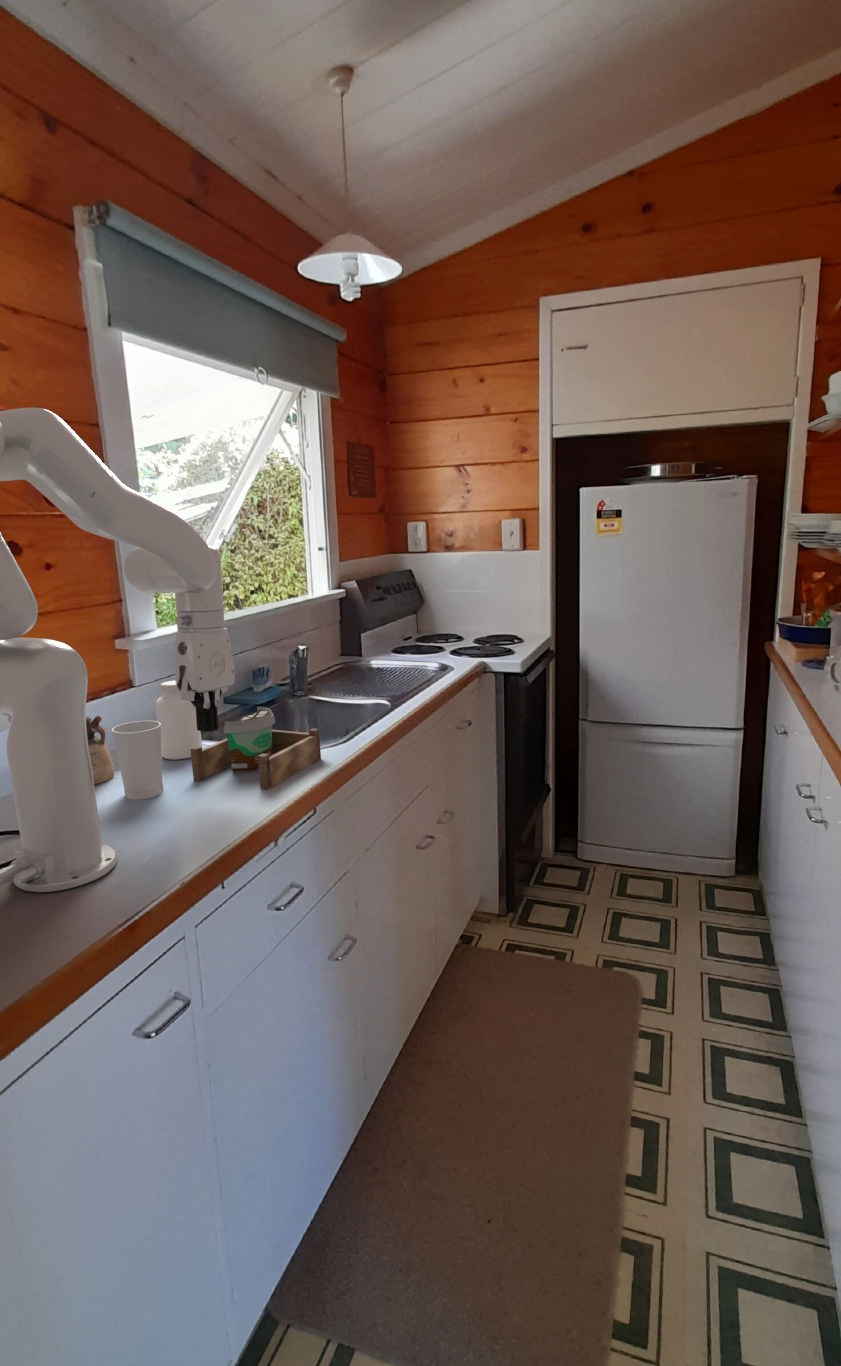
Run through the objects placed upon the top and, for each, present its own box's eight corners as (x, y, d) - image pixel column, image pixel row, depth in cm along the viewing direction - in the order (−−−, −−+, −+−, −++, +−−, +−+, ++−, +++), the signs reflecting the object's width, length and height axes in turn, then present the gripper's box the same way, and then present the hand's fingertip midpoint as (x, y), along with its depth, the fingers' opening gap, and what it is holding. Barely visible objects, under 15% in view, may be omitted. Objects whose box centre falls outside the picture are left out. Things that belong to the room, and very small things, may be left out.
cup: (137, 784, 133) (129, 720, 131) (177, 785, 131) (169, 720, 129) (110, 800, 125) (101, 732, 123) (152, 802, 124) (144, 733, 121)
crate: (267, 789, 128) (264, 756, 126) (193, 780, 134) (190, 748, 133) (320, 758, 144) (318, 728, 143) (252, 751, 150) (250, 722, 149)
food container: (256, 776, 135) (252, 724, 133) (228, 774, 137) (222, 722, 135) (290, 756, 146) (286, 707, 144) (262, 754, 148) (258, 706, 146)
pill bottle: (191, 746, 155) (184, 676, 152) (209, 754, 150) (202, 681, 146) (155, 755, 150) (146, 683, 147) (172, 763, 144) (163, 688, 141)
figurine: (84, 772, 141) (76, 712, 138) (121, 772, 140) (113, 710, 138) (65, 786, 134) (56, 722, 131) (104, 785, 133) (95, 721, 131)
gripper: (188, 626, 113) (195, 742, 116) (247, 618, 127) (252, 722, 130) (150, 625, 116) (158, 738, 119) (212, 618, 130) (218, 719, 133)
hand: (207, 730), depth 125 cm, fingers closed
